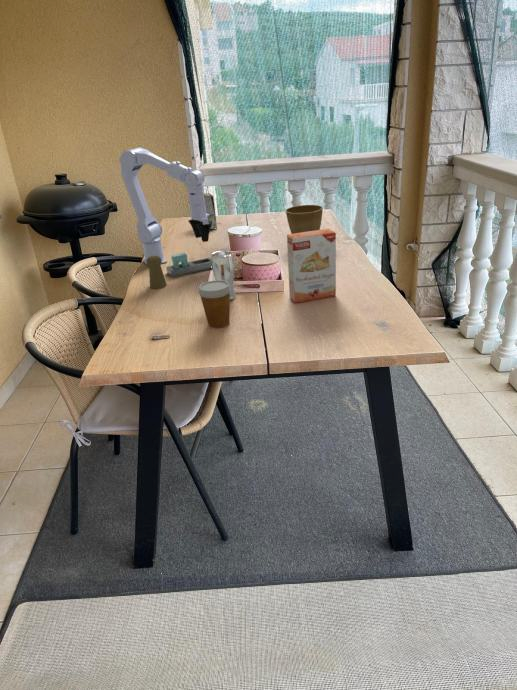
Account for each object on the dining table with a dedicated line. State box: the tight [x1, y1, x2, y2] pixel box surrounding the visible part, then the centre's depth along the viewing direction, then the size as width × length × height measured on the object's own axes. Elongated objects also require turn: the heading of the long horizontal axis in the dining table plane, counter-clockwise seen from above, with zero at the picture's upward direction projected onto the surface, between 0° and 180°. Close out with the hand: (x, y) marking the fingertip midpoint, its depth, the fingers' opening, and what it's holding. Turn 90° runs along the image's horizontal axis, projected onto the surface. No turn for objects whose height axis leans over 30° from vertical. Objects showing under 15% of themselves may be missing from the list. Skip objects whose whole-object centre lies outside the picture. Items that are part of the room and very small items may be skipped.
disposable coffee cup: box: [197, 279, 231, 329], centre depth 151 cm, size 10×10×12 cm
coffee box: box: [204, 192, 218, 230], centre depth 254 cm, size 9×6×16 cm
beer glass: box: [211, 250, 237, 301], centre depth 168 cm, size 7×7×15 cm
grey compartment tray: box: [166, 257, 212, 278], centre depth 200 cm, size 6×18×2 cm, turn 116°
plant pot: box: [285, 204, 324, 234], centre depth 212 cm, size 15×15×16 cm
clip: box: [170, 252, 189, 269], centre depth 197 cm, size 2×5×7 cm, turn 116°
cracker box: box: [286, 228, 337, 304], centre depth 161 cm, size 14×6×21 cm, turn 105°
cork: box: [146, 256, 167, 290], centre depth 185 cm, size 6×6×11 cm
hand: (202, 239), depth 202 cm, fingers open, 7 cm apart
